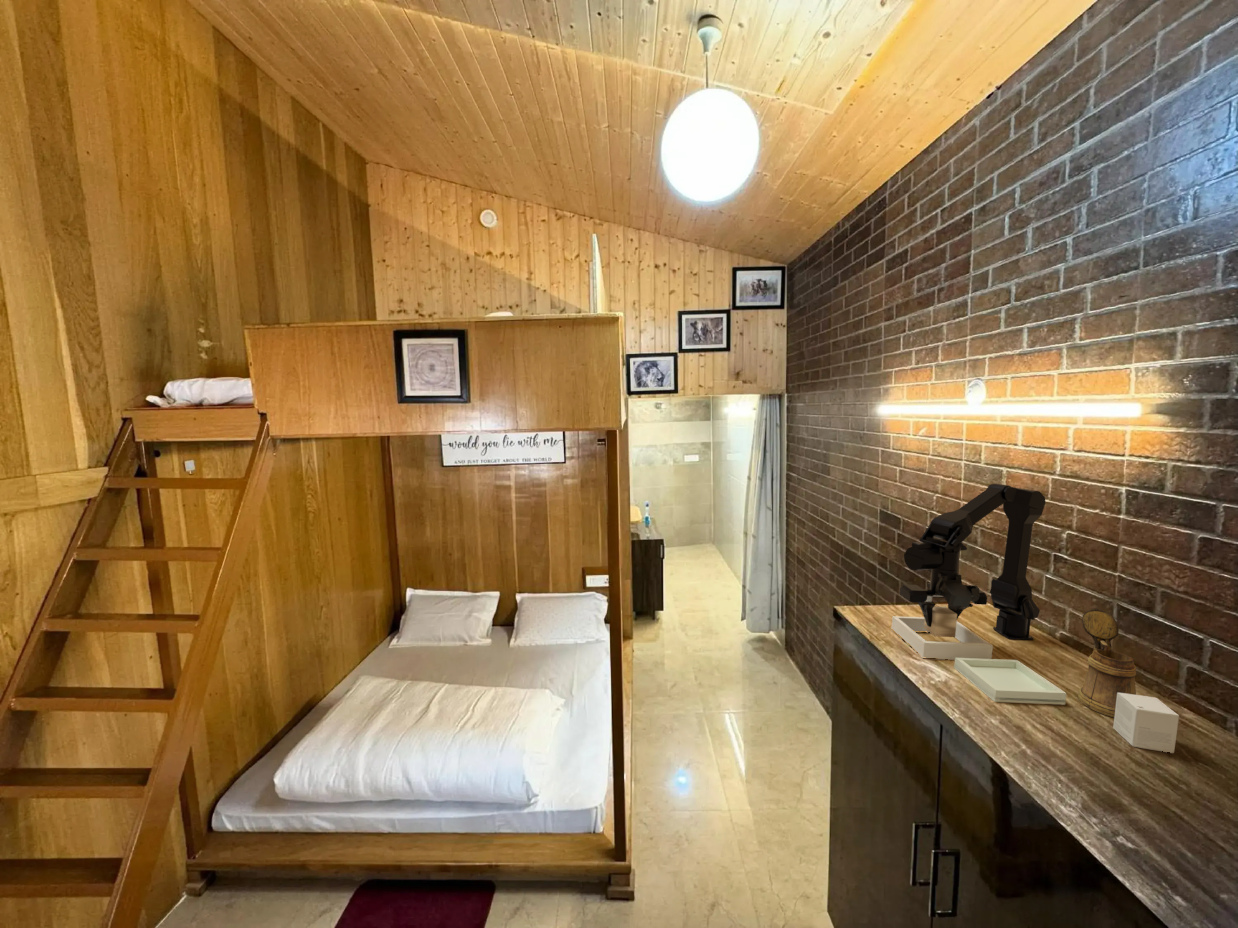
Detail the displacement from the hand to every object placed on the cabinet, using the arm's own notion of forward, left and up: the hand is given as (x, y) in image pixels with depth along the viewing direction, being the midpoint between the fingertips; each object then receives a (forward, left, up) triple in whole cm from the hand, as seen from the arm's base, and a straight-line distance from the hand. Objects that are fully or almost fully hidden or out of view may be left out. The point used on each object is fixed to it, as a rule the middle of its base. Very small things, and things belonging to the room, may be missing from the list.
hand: (939, 626), depth 131 cm
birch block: (0, 0, -2) cm, 2 cm away
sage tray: (-4, +19, -5) cm, 20 cm away
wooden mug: (-20, +24, -5) cm, 32 cm away
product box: (-16, +37, -5) cm, 41 cm away
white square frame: (0, 0, -5) cm, 5 cm away
